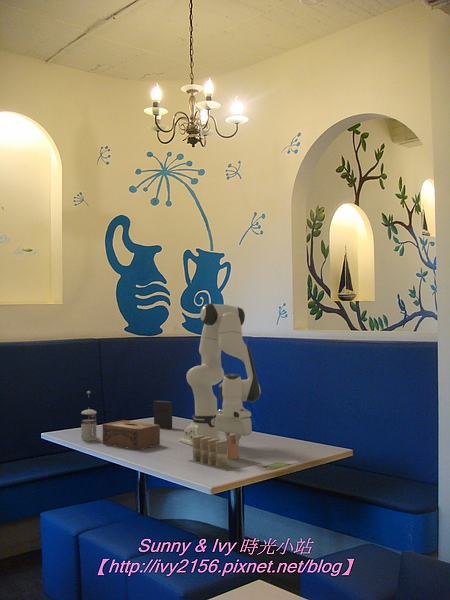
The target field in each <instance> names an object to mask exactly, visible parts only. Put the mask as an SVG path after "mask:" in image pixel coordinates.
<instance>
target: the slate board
mask: <svg viewBox="0 0 450 600" xmlns="http://www.w3.org/2000/svg"><path fill="white" fill-rule="evenodd" d="M188 462H190V463H194V464H196V465H197V464H198V465H201V466H205V467H208V468H213V469H217V470H220V471H225V472H230V471H234V470H235V471H236V470H239V469H243V468H248V467H253V466H256V465H262V462H259V461H257V460H256V461H255V460H251V459H246V458H242V457H239V458H236V459H231V460H229V459H228V454H227V464H228V465H224V466H220V467H217V466H216V464H212V465H209V464H208V462H205V463H202V462H201V461H200V460H198V461H194V460H193V459H190V460H188Z"/></svg>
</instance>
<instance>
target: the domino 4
mask: <svg viewBox="0 0 450 600" xmlns="http://www.w3.org/2000/svg"><path fill="white" fill-rule="evenodd" d="M227 455H228V445H227V439H226V440H225V439H224V440H221V441H218V442H216V466H217V467H220V466H224V465H228V464H227Z"/></svg>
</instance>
